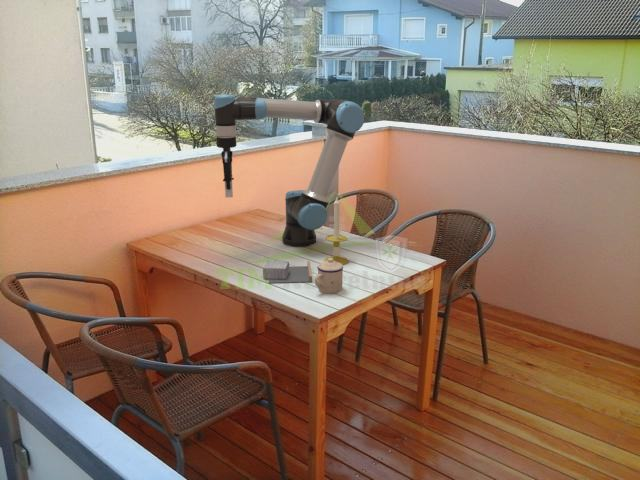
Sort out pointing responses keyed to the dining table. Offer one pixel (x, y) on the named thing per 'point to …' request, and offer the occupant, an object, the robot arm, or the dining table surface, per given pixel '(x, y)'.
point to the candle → (337, 237)
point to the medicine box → (276, 270)
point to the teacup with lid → (329, 277)
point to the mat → (296, 275)
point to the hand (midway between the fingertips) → (229, 196)
